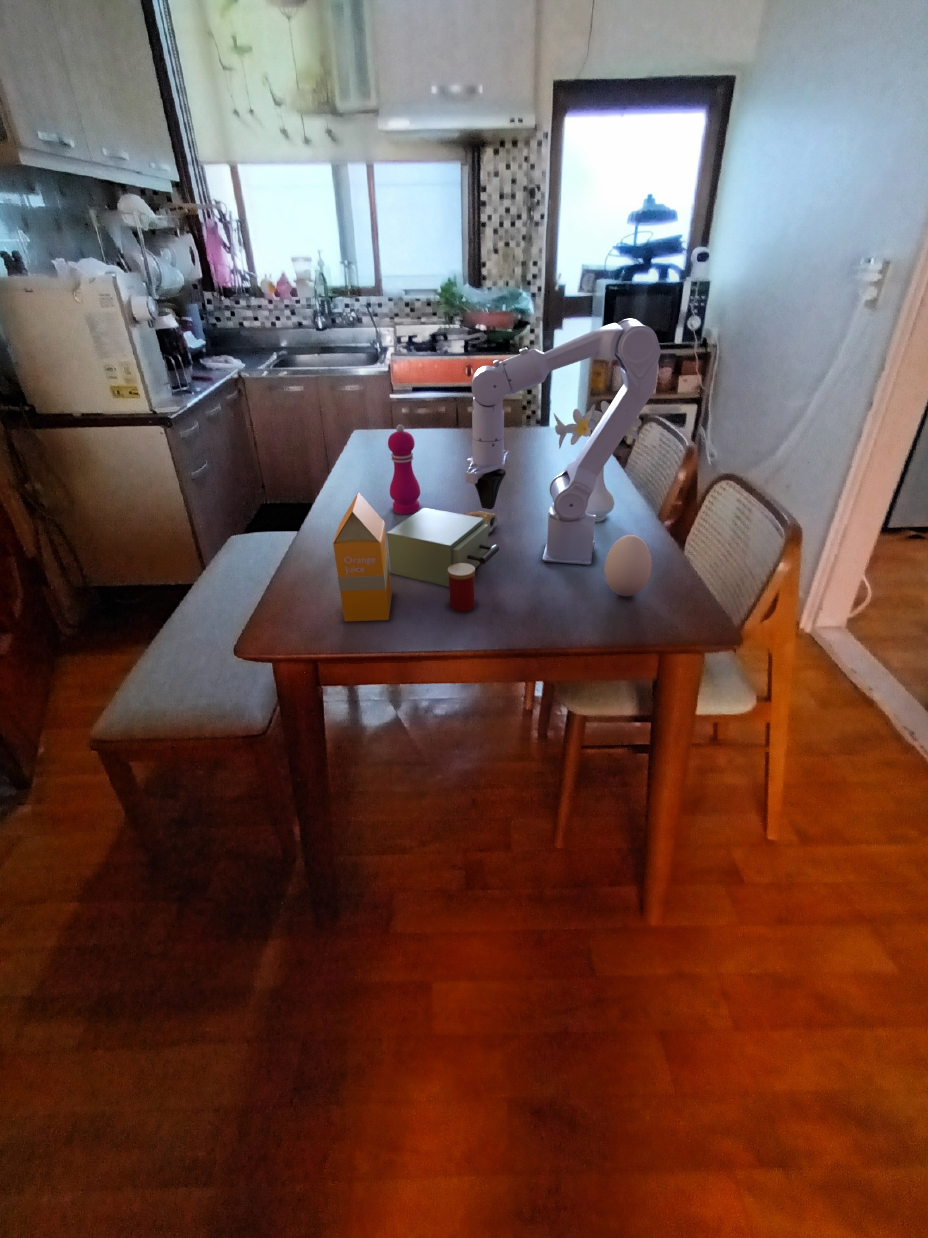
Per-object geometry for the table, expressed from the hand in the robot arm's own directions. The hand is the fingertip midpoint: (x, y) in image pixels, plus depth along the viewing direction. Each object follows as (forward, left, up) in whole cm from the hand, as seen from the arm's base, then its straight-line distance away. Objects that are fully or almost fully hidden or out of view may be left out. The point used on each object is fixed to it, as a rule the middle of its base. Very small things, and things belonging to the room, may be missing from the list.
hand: (487, 507), depth 120 cm
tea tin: (+1, +20, -10) cm, 23 cm away
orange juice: (+17, +24, -11) cm, 31 cm away
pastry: (+5, -13, -11) cm, 17 cm away
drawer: (+5, +7, -10) cm, 13 cm away
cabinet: (+9, +6, -10) cm, 15 cm away
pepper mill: (+24, -21, -11) cm, 34 cm away
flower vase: (-19, -23, -11) cm, 32 cm away
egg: (-27, +11, -11) cm, 31 cm away
